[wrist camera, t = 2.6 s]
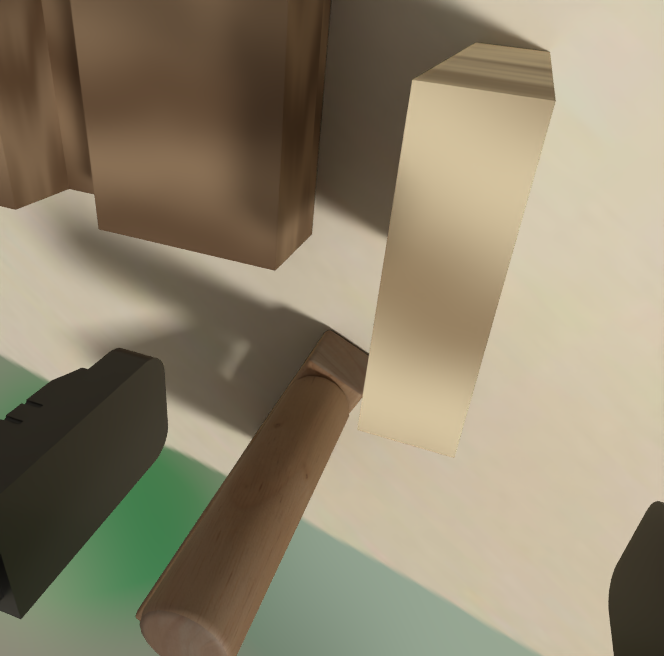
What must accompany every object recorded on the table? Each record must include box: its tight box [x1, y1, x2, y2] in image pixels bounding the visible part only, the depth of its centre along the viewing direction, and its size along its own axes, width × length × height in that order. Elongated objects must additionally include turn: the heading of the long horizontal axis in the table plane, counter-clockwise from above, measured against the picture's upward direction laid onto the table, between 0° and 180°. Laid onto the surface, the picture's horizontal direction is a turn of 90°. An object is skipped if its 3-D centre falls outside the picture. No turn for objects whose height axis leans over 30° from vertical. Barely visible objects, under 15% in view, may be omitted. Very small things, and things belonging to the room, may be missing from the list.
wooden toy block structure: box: [136, 330, 369, 656], centre depth 29 cm, size 4×11×18 cm, turn 151°
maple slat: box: [357, 42, 556, 458], centre depth 20 cm, size 10×3×14 cm, turn 175°
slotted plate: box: [0, 0, 331, 270], centre depth 27 cm, size 14×24×5 cm, turn 85°
